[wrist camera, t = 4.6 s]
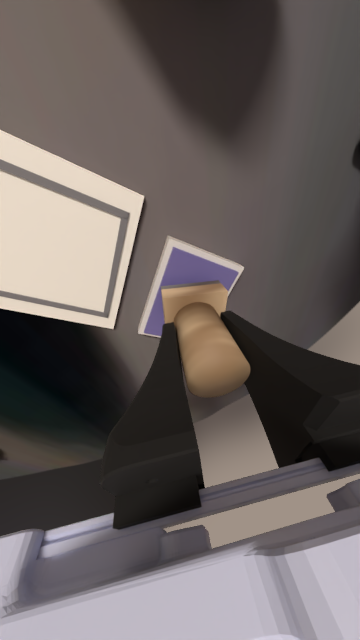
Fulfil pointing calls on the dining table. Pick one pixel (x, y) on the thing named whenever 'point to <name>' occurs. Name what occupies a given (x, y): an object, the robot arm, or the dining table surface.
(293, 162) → the dining table surface
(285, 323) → the dining table surface
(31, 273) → the print sheet
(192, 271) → the ink pad
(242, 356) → the stamp
